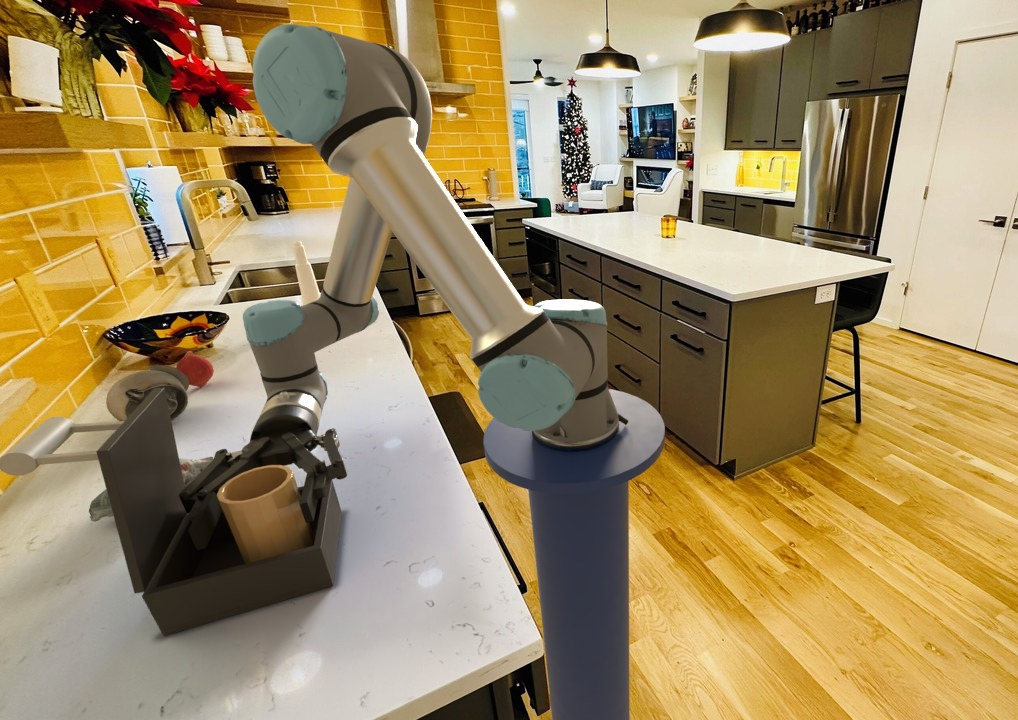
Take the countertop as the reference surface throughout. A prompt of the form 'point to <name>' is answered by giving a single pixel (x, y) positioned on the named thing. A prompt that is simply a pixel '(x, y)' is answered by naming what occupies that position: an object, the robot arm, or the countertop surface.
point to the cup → (265, 513)
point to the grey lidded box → (238, 572)
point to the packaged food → (189, 471)
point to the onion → (195, 369)
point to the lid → (123, 477)
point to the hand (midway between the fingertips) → (253, 525)
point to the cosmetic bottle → (305, 275)
